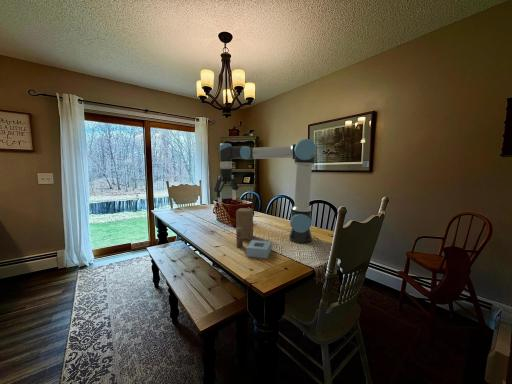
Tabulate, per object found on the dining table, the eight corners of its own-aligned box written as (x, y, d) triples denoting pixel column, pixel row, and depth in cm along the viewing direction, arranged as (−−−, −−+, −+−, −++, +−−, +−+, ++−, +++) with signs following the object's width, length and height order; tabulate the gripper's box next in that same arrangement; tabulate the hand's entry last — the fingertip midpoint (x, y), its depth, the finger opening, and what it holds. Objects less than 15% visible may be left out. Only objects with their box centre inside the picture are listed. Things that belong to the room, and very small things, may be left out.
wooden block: (250, 240, 139) (250, 211, 136) (236, 239, 141) (235, 210, 138) (253, 235, 148) (253, 208, 146) (240, 234, 150) (239, 207, 148)
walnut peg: (243, 245, 129) (243, 227, 128) (241, 248, 125) (241, 229, 124) (237, 245, 130) (237, 226, 129) (235, 247, 126) (235, 228, 125)
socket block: (271, 249, 123) (271, 241, 122) (267, 258, 111) (267, 249, 110) (252, 247, 126) (252, 240, 125) (246, 256, 114) (246, 247, 114)
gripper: (234, 168, 143) (235, 198, 146) (207, 168, 123) (208, 203, 126) (242, 168, 139) (243, 198, 142) (216, 168, 119) (217, 204, 122)
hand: (227, 201), depth 134 cm, fingers open, 13 cm apart
